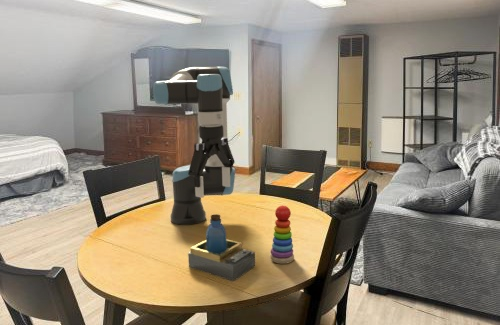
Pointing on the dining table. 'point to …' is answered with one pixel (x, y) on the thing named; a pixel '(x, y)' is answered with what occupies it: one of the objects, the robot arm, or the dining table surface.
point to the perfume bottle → (216, 235)
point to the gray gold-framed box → (222, 260)
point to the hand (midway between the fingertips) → (213, 191)
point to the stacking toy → (282, 237)
